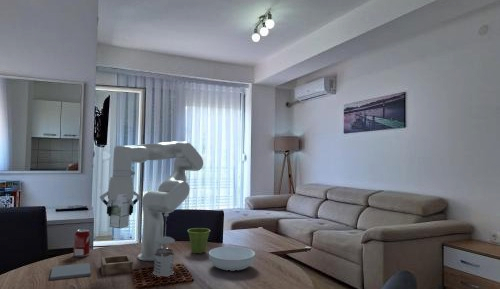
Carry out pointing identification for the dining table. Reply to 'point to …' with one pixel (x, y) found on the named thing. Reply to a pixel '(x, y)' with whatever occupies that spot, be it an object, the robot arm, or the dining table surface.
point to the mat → (70, 271)
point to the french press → (164, 256)
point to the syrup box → (120, 212)
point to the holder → (116, 264)
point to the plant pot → (198, 239)
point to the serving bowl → (231, 258)
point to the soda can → (82, 243)
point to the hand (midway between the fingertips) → (119, 214)
